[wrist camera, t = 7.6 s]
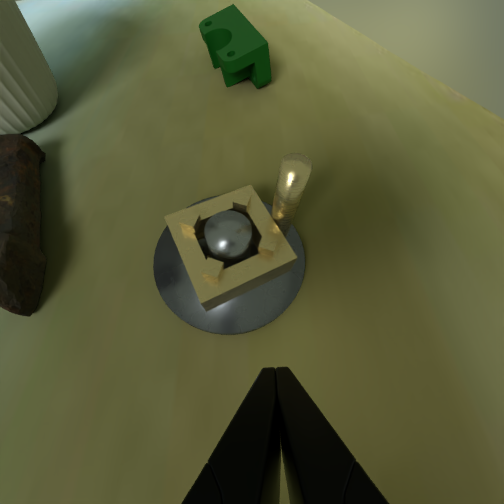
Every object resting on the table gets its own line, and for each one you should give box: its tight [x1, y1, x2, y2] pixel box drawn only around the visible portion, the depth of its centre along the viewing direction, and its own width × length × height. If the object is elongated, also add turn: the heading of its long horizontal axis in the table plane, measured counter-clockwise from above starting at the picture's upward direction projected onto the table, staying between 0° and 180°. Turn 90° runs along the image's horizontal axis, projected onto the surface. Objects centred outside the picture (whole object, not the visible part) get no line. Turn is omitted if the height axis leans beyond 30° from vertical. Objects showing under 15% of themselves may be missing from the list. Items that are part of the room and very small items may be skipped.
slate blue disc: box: [153, 196, 305, 335], centre depth 20 cm, size 14×14×6 cm
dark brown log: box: [0, 134, 47, 316], centre depth 21 cm, size 19×4×5 cm, turn 20°
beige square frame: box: [164, 153, 312, 312], centre depth 18 cm, size 8×10×8 cm
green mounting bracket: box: [199, 4, 271, 89], centre depth 34 cm, size 12×6×9 cm, turn 19°
